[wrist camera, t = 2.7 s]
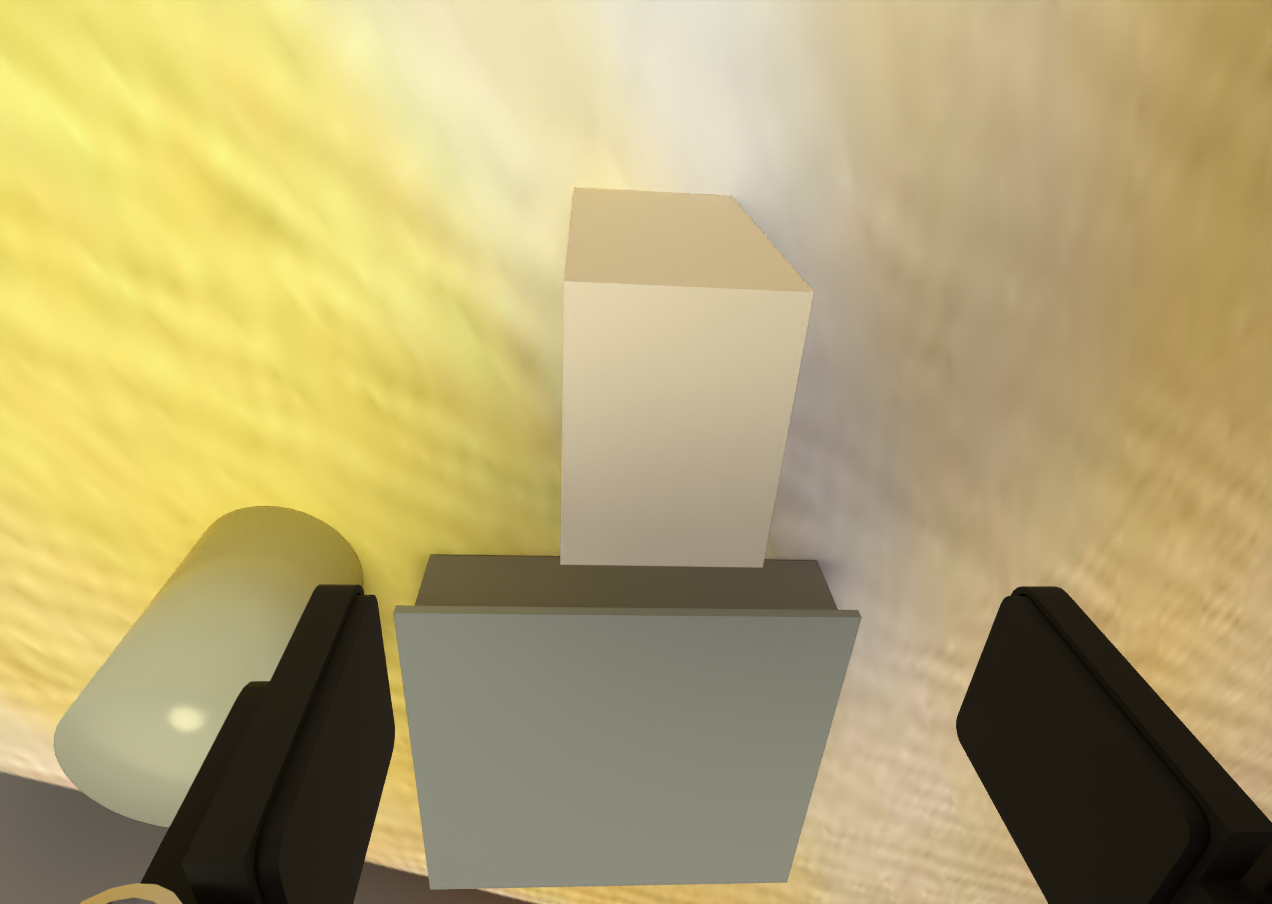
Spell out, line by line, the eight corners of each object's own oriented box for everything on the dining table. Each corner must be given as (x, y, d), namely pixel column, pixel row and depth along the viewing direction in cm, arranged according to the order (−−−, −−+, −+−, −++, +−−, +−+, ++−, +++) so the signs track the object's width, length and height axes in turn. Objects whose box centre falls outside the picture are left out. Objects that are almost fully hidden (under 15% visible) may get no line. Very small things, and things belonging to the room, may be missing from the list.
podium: (830, 551, 31) (861, 617, 27) (769, 807, 39) (786, 882, 36) (416, 544, 29) (393, 613, 26) (444, 810, 38) (430, 889, 34)
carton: (731, 195, 23) (814, 292, 15) (707, 394, 27) (762, 567, 18) (573, 187, 23) (563, 280, 14) (570, 390, 26) (560, 564, 18)
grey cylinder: (352, 507, 28) (262, 687, 21) (371, 631, 32) (300, 827, 24) (179, 504, 28) (21, 687, 20) (216, 630, 31) (91, 830, 23)
